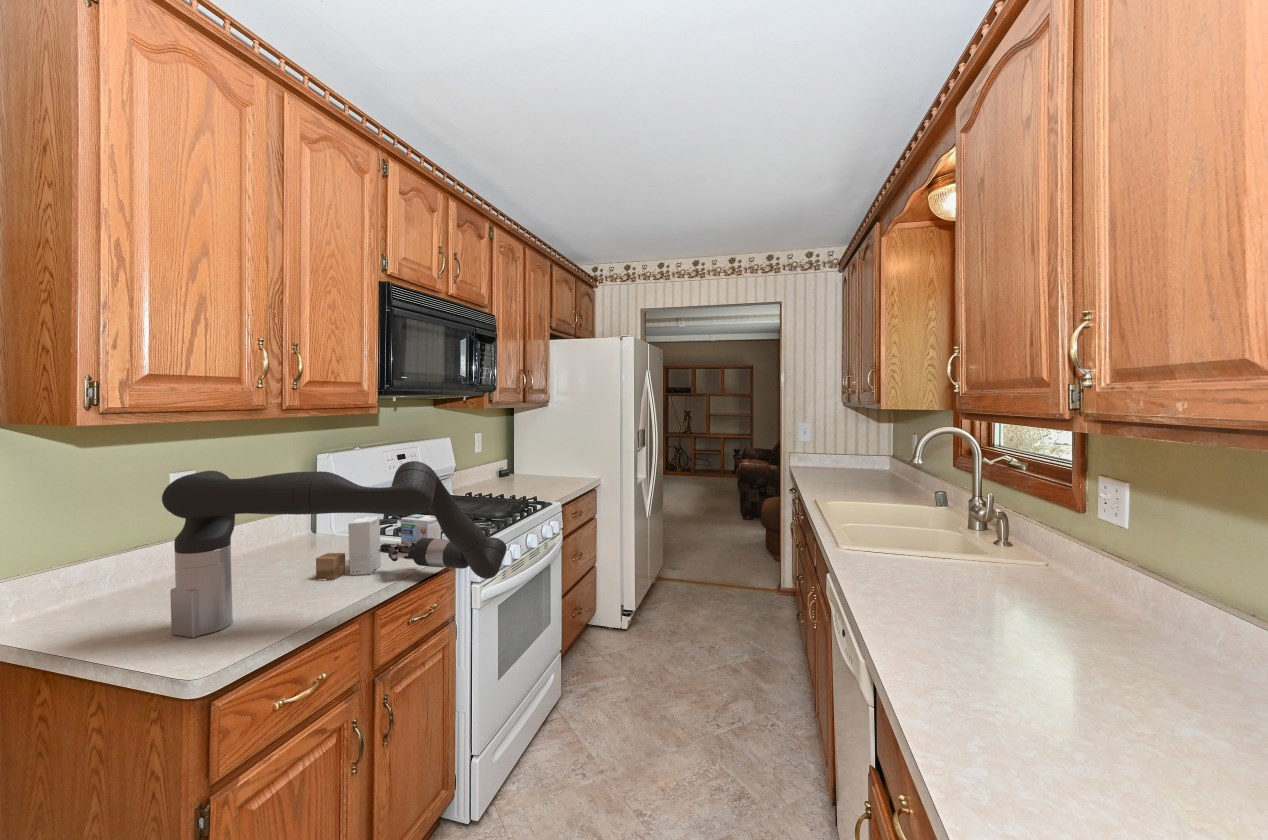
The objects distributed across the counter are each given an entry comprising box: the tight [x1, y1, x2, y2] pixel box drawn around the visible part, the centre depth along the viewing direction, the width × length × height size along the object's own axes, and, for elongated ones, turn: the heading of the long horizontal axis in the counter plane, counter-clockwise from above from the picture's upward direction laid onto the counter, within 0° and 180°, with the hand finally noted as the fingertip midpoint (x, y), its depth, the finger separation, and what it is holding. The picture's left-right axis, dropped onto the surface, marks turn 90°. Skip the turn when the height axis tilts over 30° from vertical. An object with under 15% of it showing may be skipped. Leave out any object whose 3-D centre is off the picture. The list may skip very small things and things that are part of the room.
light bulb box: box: [400, 514, 442, 544], centre depth 169 cm, size 11×7×11 cm, turn 73°
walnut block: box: [315, 552, 346, 581], centre depth 143 cm, size 5×5×6 cm
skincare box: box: [347, 516, 382, 576], centre depth 149 cm, size 8×6×15 cm
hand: (382, 547), depth 147 cm, fingers closed
